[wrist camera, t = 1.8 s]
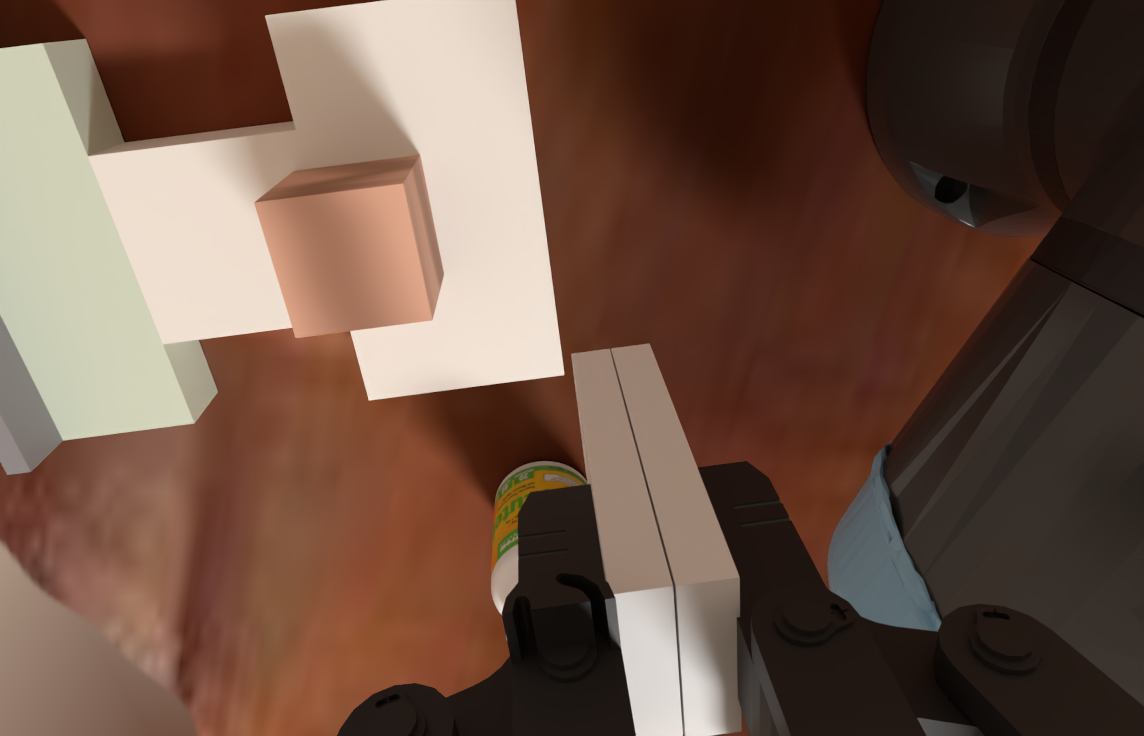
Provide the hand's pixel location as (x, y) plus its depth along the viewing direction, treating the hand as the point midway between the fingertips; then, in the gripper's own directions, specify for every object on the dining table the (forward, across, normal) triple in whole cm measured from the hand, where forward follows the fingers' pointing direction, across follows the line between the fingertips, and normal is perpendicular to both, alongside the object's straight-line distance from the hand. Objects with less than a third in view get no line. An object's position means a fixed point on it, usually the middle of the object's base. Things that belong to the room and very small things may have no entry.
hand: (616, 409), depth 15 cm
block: (+17, +8, 0) cm, 19 cm away
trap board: (+20, +13, 0) cm, 24 cm away
